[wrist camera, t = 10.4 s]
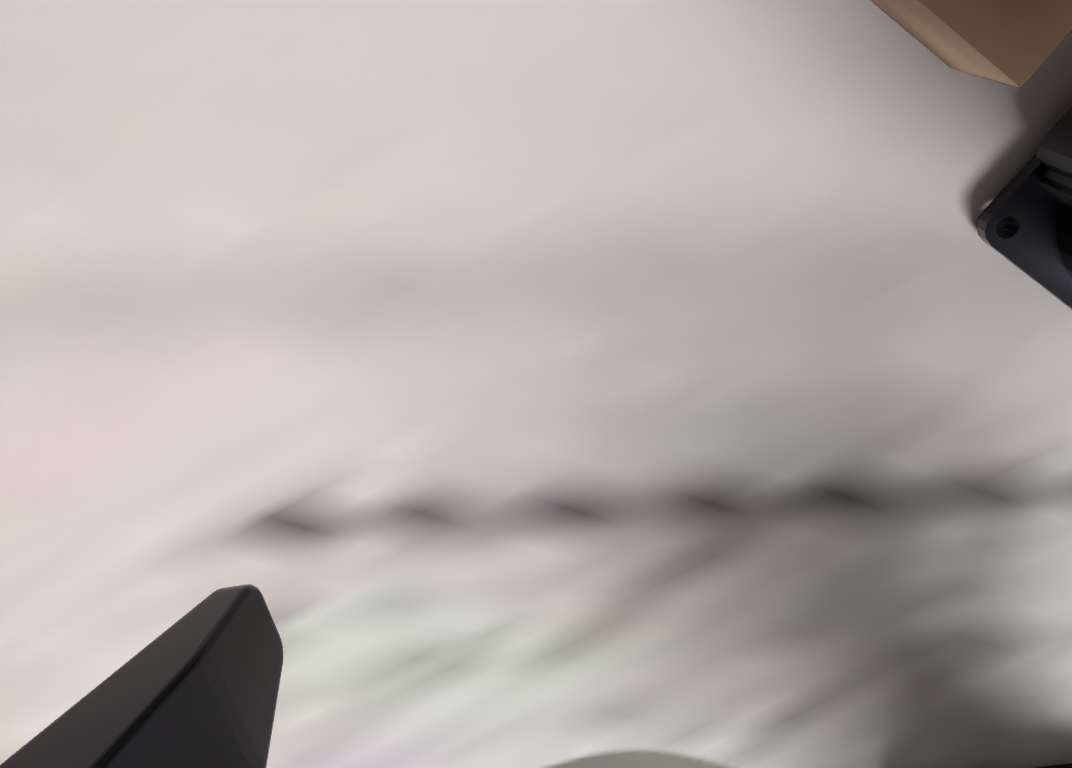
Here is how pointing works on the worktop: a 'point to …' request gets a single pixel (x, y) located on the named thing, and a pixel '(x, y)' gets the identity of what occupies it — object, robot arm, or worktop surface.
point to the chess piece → (1059, 766)
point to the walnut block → (986, 33)
